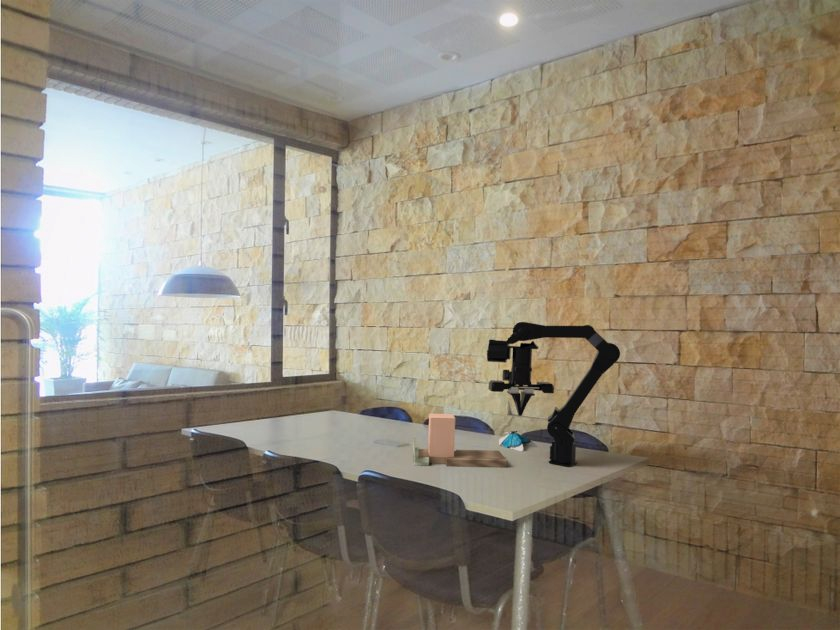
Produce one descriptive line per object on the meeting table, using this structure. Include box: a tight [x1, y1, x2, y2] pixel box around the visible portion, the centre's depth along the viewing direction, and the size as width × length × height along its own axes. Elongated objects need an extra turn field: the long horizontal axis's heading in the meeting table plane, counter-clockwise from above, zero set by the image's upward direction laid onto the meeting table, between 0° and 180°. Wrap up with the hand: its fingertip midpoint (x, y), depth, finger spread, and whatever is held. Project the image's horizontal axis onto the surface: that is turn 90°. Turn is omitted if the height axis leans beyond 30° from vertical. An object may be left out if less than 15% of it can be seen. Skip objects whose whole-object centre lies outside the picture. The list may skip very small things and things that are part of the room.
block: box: [427, 413, 456, 457], centre depth 168 cm, size 7×7×11 cm
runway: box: [412, 438, 508, 468], centre depth 168 cm, size 26×12×5 cm, turn 93°
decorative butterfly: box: [498, 430, 537, 452], centre depth 190 cm, size 10×6×10 cm
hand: (519, 415), depth 173 cm, fingers closed
